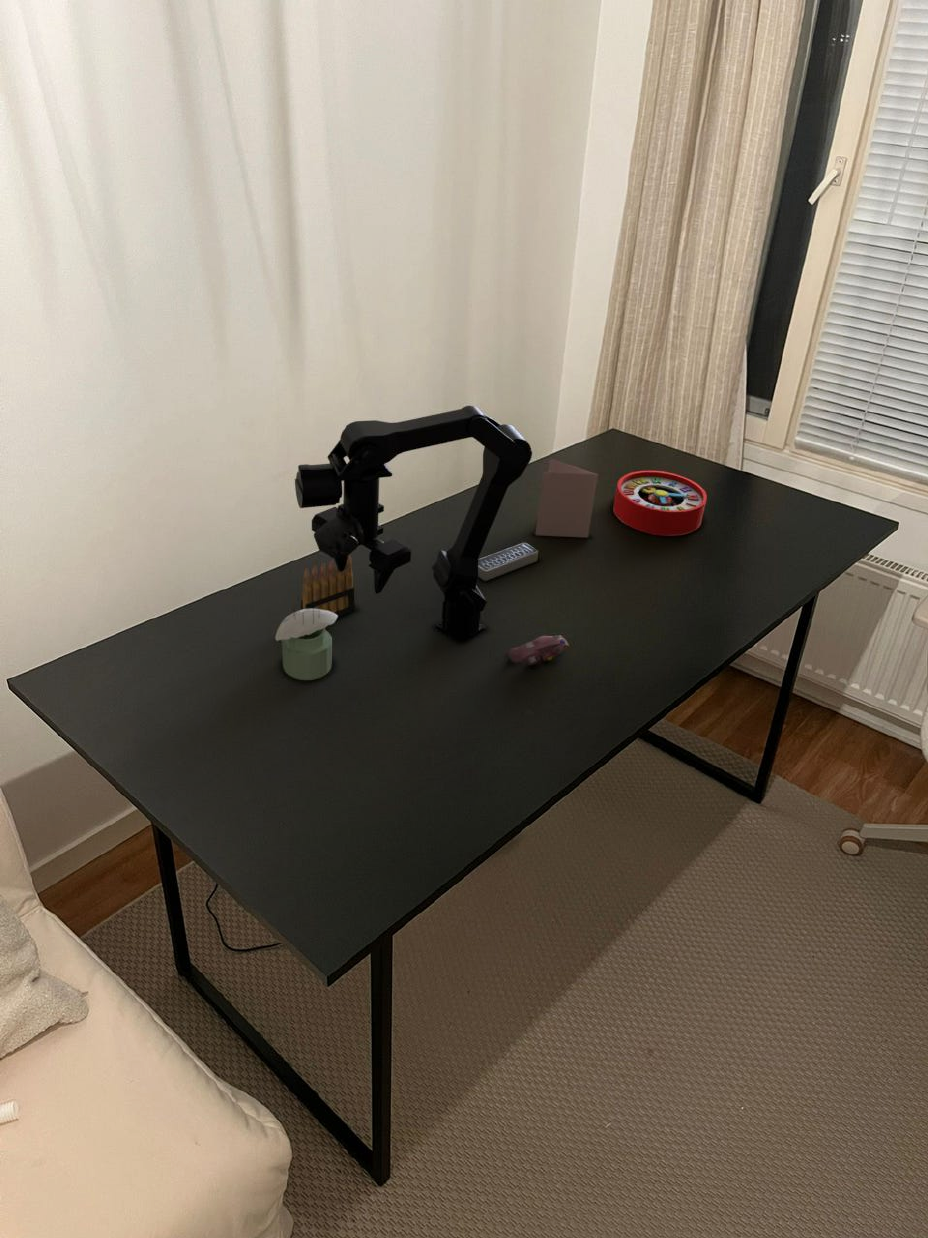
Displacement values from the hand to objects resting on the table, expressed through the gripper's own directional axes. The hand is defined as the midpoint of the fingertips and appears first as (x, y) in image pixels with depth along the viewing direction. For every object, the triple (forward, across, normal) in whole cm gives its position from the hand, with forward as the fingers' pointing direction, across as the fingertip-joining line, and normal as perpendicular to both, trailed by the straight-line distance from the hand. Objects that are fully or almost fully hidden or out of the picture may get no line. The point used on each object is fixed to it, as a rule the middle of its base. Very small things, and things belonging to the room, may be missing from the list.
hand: (359, 581), depth 171 cm
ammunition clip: (+13, -10, +1) cm, 16 cm away
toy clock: (+13, +8, +84) cm, 85 cm away
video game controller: (+13, +25, +20) cm, 35 cm away
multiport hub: (+13, 0, +40) cm, 42 cm away
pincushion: (+6, -1, -11) cm, 12 cm away
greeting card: (+13, -1, +59) cm, 60 cm away
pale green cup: (+13, -1, -11) cm, 17 cm away
